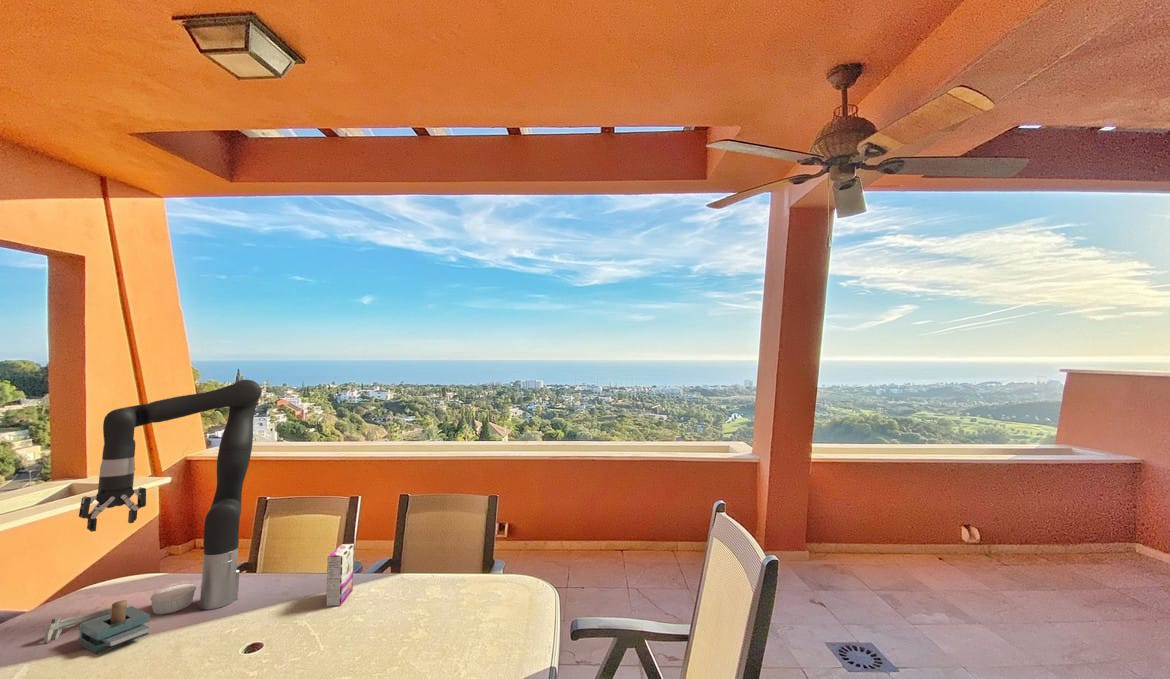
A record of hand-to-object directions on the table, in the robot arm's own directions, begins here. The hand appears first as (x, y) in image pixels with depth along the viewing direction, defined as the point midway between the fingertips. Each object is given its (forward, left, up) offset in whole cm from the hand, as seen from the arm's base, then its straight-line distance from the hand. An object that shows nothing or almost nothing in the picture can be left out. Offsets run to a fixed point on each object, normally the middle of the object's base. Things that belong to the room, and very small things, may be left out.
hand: (112, 526), depth 138 cm
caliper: (+1, -9, -31) cm, 32 cm away
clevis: (+1, +11, -30) cm, 32 cm away
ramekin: (-16, +2, -30) cm, 34 cm away
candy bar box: (-44, +46, -30) cm, 70 cm away
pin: (0, +10, -30) cm, 32 cm away
